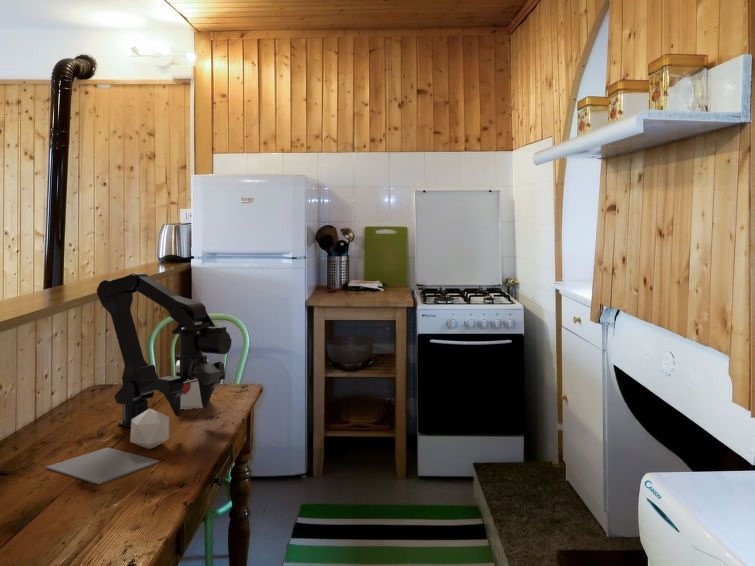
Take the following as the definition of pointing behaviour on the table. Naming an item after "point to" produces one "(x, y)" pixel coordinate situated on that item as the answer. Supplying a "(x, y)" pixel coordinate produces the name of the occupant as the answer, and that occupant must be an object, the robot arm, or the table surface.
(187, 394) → the supplement box
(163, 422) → the grey faceted block
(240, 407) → the table surface
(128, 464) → the mat
